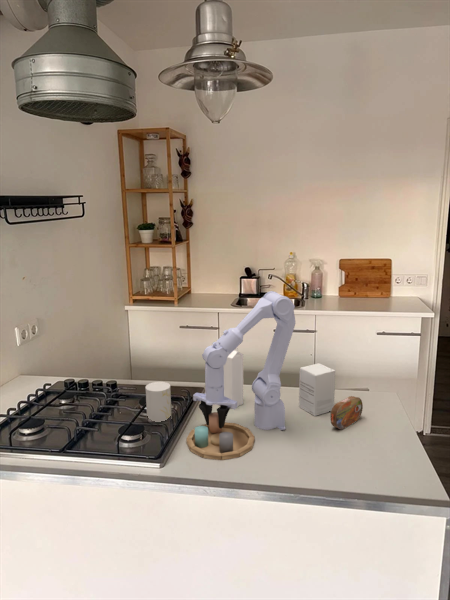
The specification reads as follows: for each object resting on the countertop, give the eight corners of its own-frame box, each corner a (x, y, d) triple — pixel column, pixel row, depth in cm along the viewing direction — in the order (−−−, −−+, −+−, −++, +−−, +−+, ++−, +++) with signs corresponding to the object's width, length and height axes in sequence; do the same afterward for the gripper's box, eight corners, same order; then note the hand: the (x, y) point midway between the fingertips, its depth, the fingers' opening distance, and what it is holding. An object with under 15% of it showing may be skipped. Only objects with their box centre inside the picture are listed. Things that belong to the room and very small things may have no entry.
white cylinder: (167, 426, 153) (165, 392, 150) (143, 424, 154) (141, 390, 152) (174, 415, 161) (173, 382, 158) (152, 413, 162) (150, 380, 160)
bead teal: (206, 440, 142) (206, 425, 141) (209, 446, 138) (209, 431, 137) (193, 441, 141) (193, 426, 140) (196, 448, 137) (195, 432, 136)
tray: (241, 424, 154) (241, 418, 153) (263, 455, 135) (263, 448, 134) (181, 434, 148) (181, 427, 147) (196, 467, 129) (196, 460, 129)
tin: (336, 433, 148) (337, 408, 146) (328, 429, 150) (329, 405, 148) (362, 418, 157) (364, 394, 156) (354, 415, 160) (356, 392, 158)
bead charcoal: (230, 446, 138) (230, 430, 137) (235, 453, 134) (234, 437, 133) (217, 448, 137) (217, 433, 136) (221, 455, 133) (221, 439, 132)
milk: (231, 399, 173) (231, 342, 169) (243, 403, 169) (243, 345, 165) (219, 404, 169) (219, 345, 164) (232, 409, 165) (232, 349, 160)
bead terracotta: (219, 425, 149) (219, 411, 148) (223, 431, 145) (223, 416, 144) (207, 428, 148) (207, 413, 146) (211, 433, 144) (211, 418, 143)
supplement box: (317, 401, 171) (318, 362, 168) (334, 410, 163) (336, 370, 160) (297, 406, 166) (298, 367, 163) (314, 416, 159) (316, 375, 155)
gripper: (187, 385, 143) (188, 425, 146) (229, 393, 136) (230, 436, 139) (199, 377, 149) (200, 416, 152) (240, 385, 142) (240, 426, 145)
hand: (215, 425), depth 146 cm, fingers closed on bead terracotta, 4 cm apart
